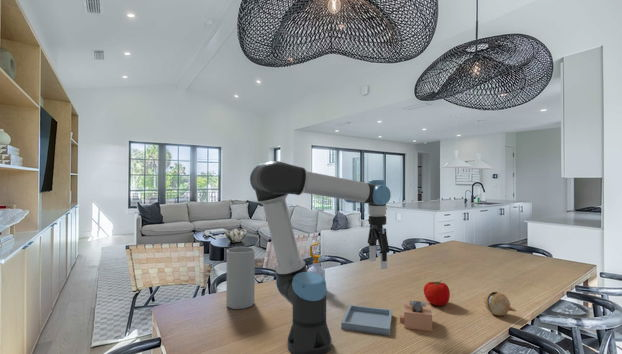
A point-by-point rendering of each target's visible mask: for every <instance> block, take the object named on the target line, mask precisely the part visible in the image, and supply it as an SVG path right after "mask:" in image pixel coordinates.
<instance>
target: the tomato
mask: <svg viewBox="0 0 622 354" xmlns="http://www.w3.org/2000/svg"><path fill="white" fill-rule="evenodd" d="M442 281H443V280H442V279H441V280H440V281H428V282H427V283H426V284H425V285H424V286H423V294H424V297H425V299H426V300H427V302H429V304H430V305H431V304H432V305H433V306H437V307H440V306H445V305H447V304H448V303H449V301H450V297H451V295H450V294H451V292H450V291H451V290H450V288H449V286H448V285H447V284H446V283H444V282H442Z"/></svg>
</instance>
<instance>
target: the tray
mask: <svg viewBox="0 0 622 354" xmlns="http://www.w3.org/2000/svg"><path fill="white" fill-rule="evenodd" d="M392 320H393V309H389V308H381V307H380V308H379V307H373V306H364V305H355V304H354V305H353V304H349V305H348V308H347V309H346V312H345V314H344V316H343V318H342V320H341V322H340V325H341V327H340V329H341V330H345V331H346V330H348V331H354V332H361V333H367V334H368V333H370V334H376V335H384V336H391V331H392V330H391V329H392Z"/></svg>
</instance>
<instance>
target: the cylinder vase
mask: <svg viewBox="0 0 622 354" xmlns="http://www.w3.org/2000/svg"><path fill="white" fill-rule="evenodd" d="M225 303H226V306H227V308H229V309H233V310H245V309H247V308H250V307H252V306H253V305H254V303H255V248H254V247H251V246H250V247H249V246H235V247H231V248H227V249H226V302H225Z"/></svg>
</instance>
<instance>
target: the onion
mask: <svg viewBox="0 0 622 354" xmlns="http://www.w3.org/2000/svg"><path fill="white" fill-rule="evenodd" d="M484 304H485V306H484V307H485V308H486V309H487V310H488V311H489V313H491V314H492V315H495V316H498V317H501V316H502V317H503V316H505V315H507V314H508V313H509V311H510V312H517V310H516V308H514V307H512V306H511V302H510V300H509V298H508V297H507V296H506V295H505V293H502V292H501V291H500V292H497V291H493V292H492V291H491V292H490V293H488V294H487V295H486V296H485V297H484Z"/></svg>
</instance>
